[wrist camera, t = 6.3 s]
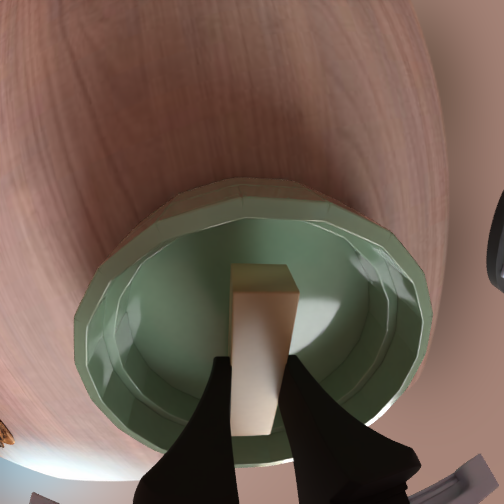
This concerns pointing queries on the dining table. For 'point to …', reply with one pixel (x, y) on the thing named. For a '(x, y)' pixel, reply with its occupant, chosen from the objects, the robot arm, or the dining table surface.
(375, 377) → the mixing bowl
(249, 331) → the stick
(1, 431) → the brown mottled round dish
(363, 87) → the dining table surface
